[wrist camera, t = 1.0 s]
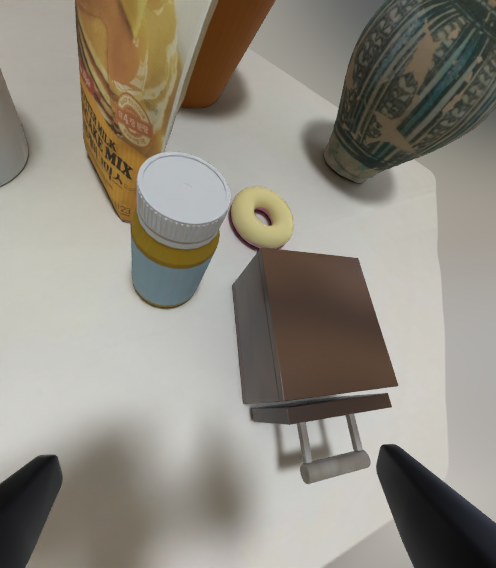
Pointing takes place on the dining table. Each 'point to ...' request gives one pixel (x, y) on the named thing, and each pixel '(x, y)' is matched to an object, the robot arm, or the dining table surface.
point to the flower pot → (224, 48)
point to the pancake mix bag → (134, 82)
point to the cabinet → (307, 328)
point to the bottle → (175, 225)
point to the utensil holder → (10, 137)
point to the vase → (414, 84)
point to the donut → (253, 227)
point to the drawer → (322, 410)
